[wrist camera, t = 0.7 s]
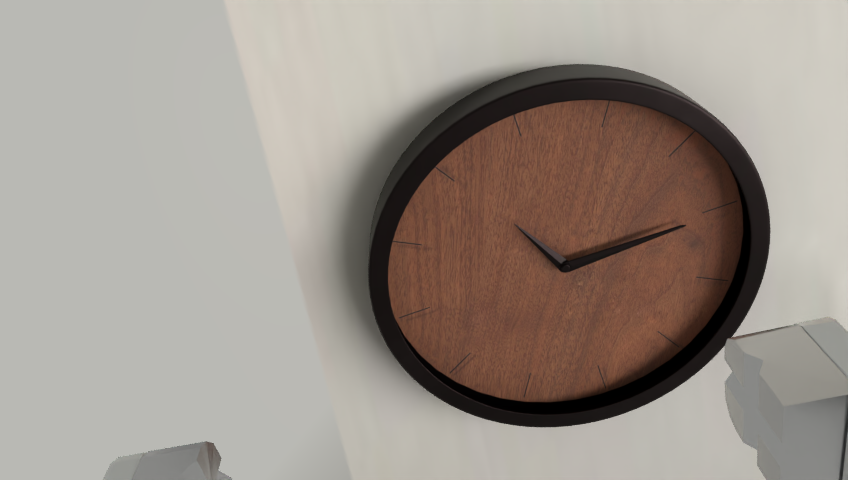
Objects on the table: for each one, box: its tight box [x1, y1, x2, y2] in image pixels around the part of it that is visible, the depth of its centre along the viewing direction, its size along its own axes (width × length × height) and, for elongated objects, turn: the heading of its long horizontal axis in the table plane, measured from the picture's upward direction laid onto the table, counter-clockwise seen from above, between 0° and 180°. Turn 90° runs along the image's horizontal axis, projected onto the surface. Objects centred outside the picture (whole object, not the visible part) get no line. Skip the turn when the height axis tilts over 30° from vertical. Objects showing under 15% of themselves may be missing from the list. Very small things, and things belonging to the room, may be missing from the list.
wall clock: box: [368, 64, 770, 427], centre depth 56 cm, size 31×4×31 cm
